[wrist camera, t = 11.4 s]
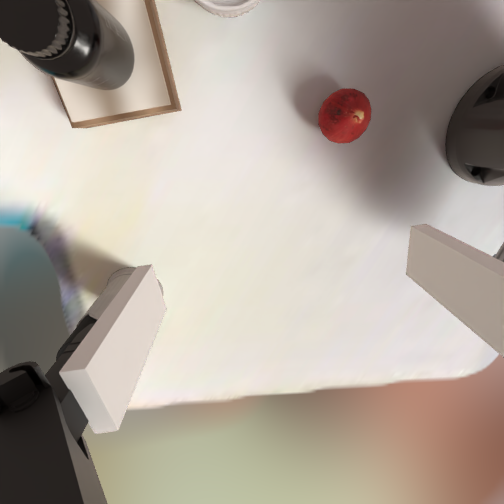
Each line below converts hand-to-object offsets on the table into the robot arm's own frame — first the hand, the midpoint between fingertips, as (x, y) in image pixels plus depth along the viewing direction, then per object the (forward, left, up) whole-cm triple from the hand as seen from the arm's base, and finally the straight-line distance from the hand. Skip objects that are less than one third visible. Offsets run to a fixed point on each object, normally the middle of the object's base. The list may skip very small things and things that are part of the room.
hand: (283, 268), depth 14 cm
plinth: (+13, -16, -26) cm, 33 cm away
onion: (-12, -6, -27) cm, 30 cm away
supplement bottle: (+13, -16, -23) cm, 30 cm away
